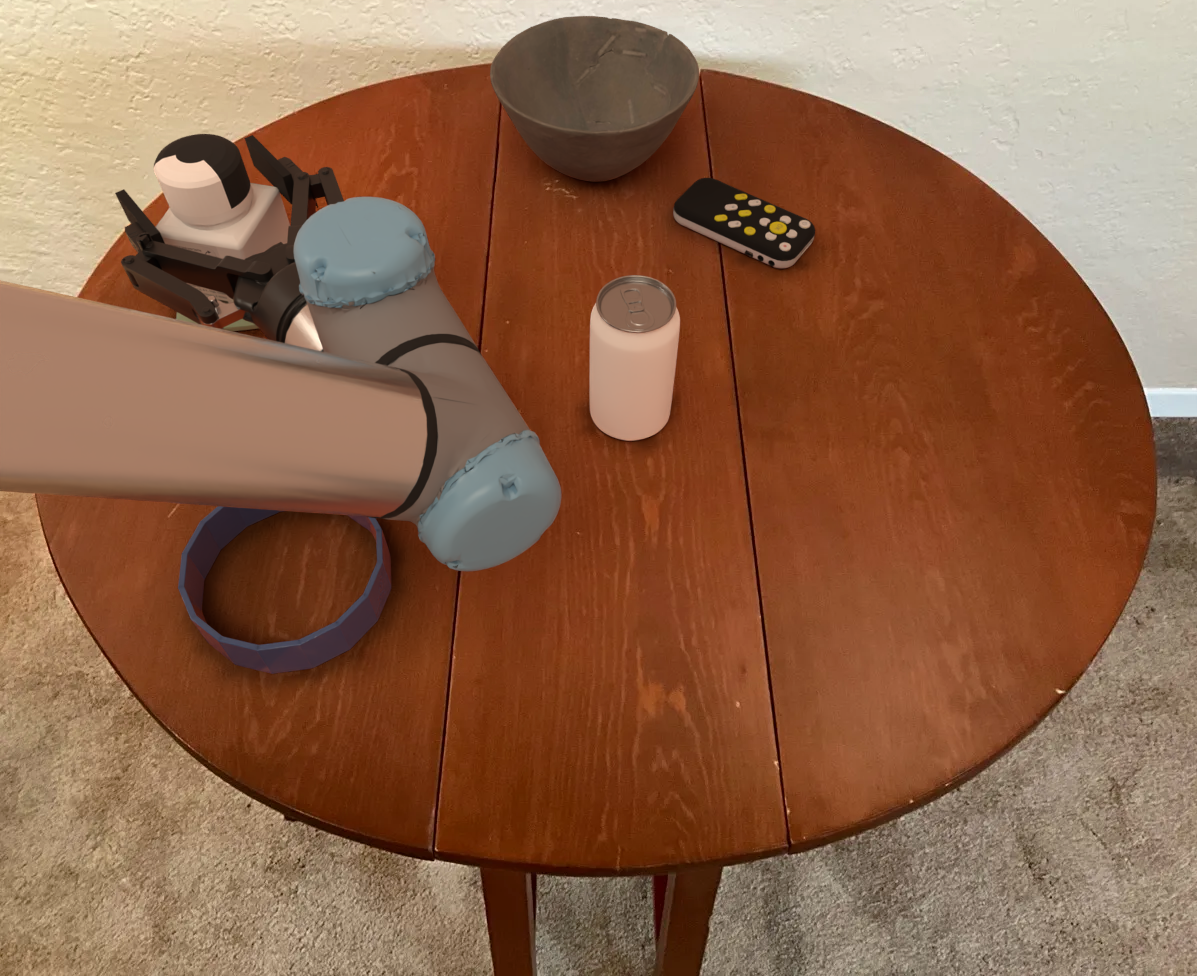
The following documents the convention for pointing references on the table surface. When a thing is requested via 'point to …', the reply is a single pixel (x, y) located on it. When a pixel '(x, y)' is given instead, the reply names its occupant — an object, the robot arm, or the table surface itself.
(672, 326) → the can
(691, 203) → the remote control
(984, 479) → the table surface
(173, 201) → the container
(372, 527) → the ring
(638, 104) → the bowl
